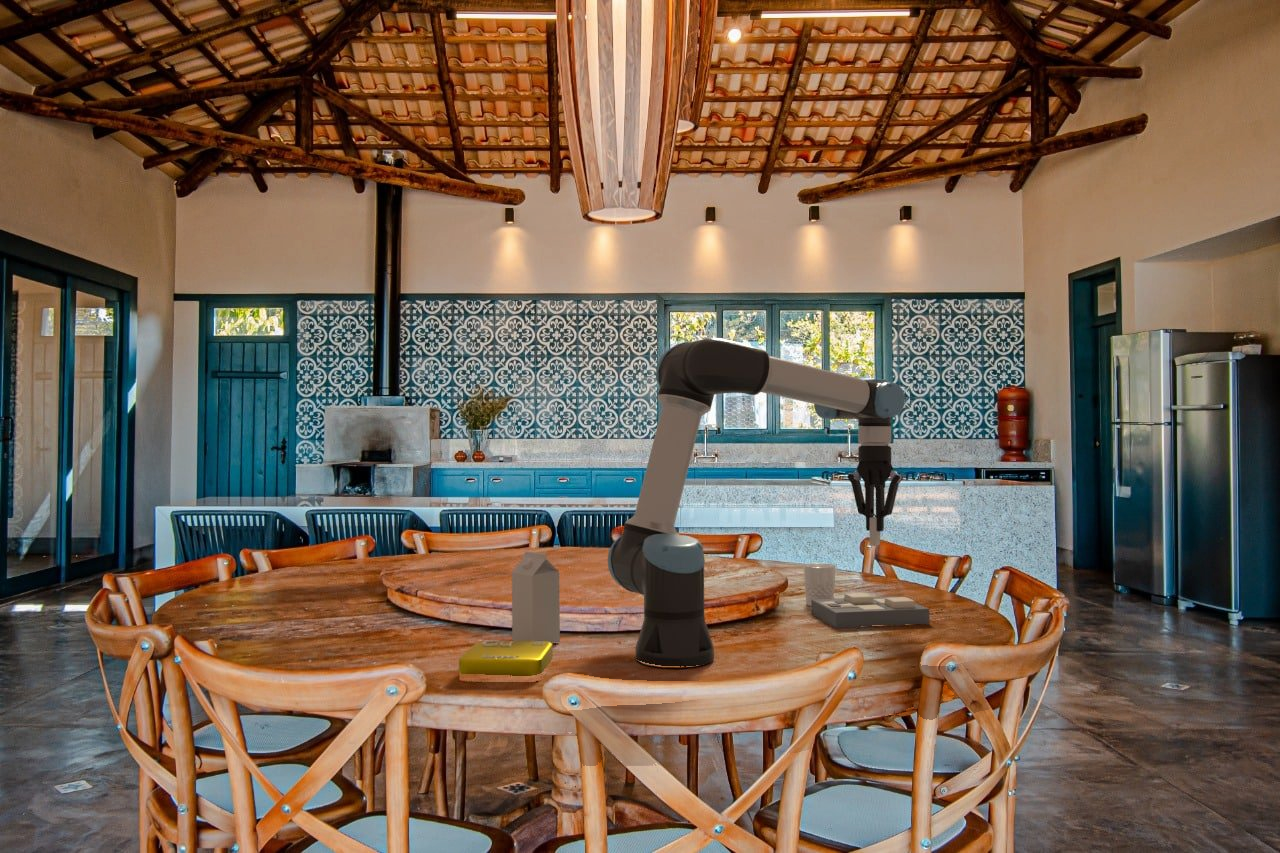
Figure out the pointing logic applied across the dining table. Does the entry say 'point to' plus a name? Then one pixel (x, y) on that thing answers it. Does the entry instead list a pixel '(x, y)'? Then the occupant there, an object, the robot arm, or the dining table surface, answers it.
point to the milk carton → (535, 600)
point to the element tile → (506, 658)
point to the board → (866, 613)
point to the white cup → (819, 581)
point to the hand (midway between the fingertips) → (874, 545)
